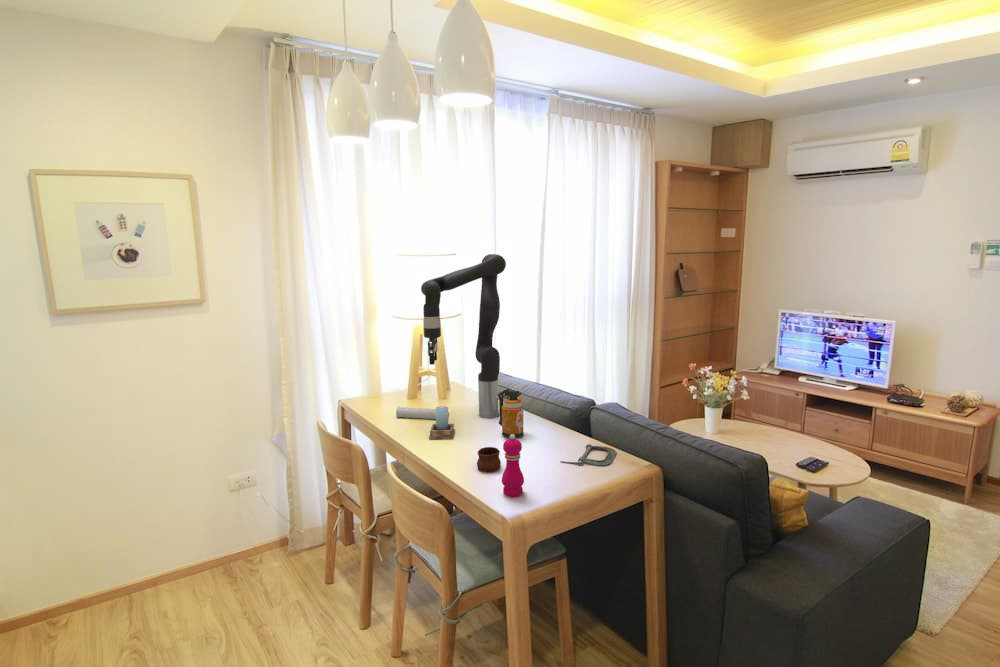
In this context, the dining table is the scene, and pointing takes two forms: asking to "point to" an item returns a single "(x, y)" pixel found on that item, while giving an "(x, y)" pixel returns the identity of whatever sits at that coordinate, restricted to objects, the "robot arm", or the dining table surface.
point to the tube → (416, 413)
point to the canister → (511, 413)
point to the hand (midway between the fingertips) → (433, 362)
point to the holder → (442, 433)
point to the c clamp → (605, 462)
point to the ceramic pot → (488, 459)
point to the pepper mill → (512, 468)
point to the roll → (442, 418)
